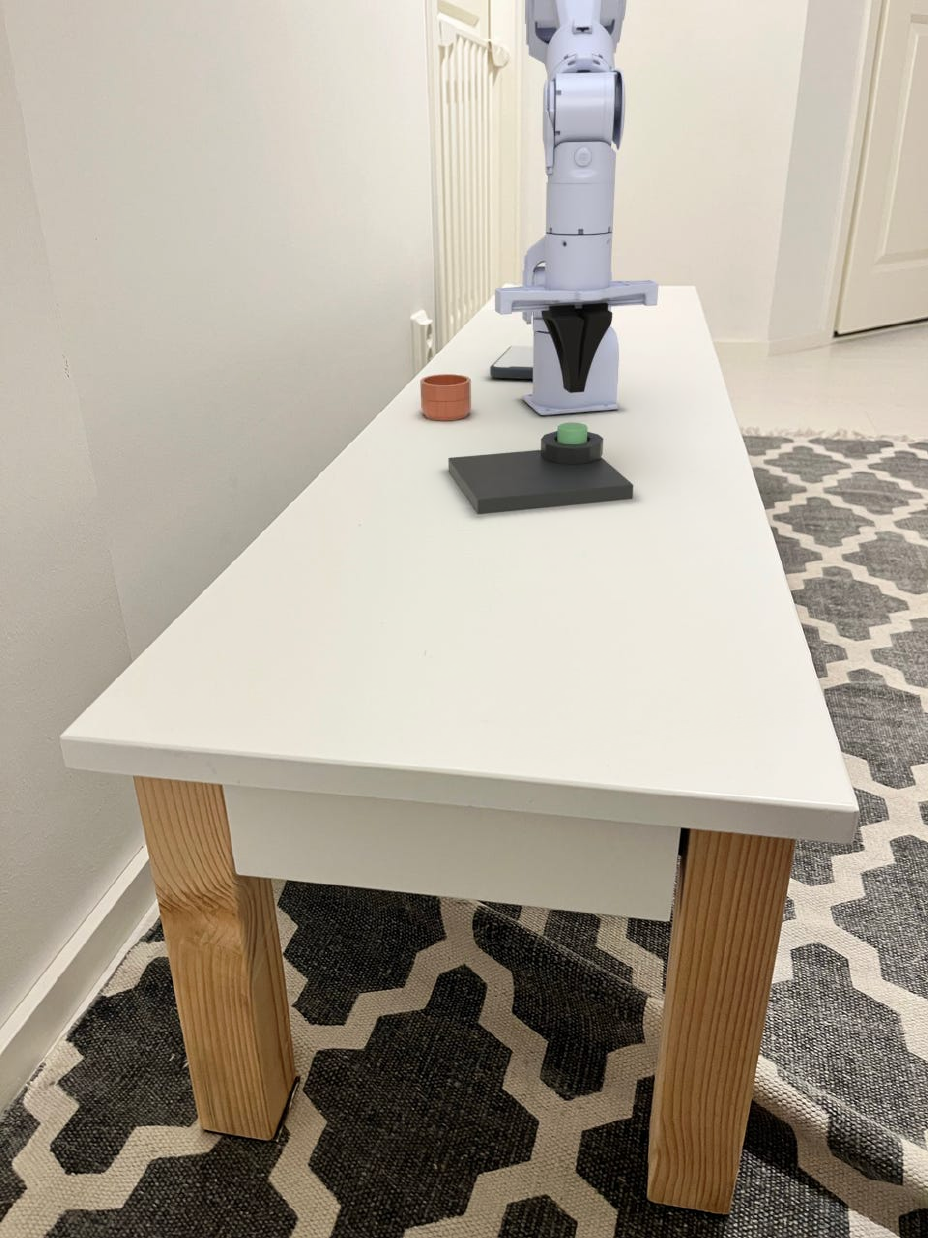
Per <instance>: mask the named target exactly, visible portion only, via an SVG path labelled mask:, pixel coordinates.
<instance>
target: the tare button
mask: <svg viewBox="0 0 928 1238" xmlns="http://www.w3.org/2000/svg"><path fill="white" fill-rule="evenodd" d="M557 431H558V433H557V442H559V443H563V444H583V443H586V442H587V432H588V425H586V424H585V423H581V422H564V423H563V422H562V423H560V424H558V425H557Z"/></svg>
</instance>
